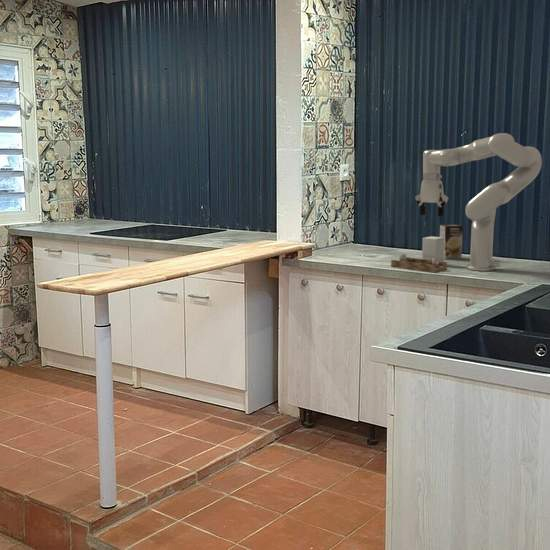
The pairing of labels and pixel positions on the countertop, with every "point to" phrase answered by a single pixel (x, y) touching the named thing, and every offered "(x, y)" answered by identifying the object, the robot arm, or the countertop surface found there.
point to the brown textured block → (419, 264)
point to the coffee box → (452, 240)
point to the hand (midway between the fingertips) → (431, 215)
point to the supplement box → (433, 248)
